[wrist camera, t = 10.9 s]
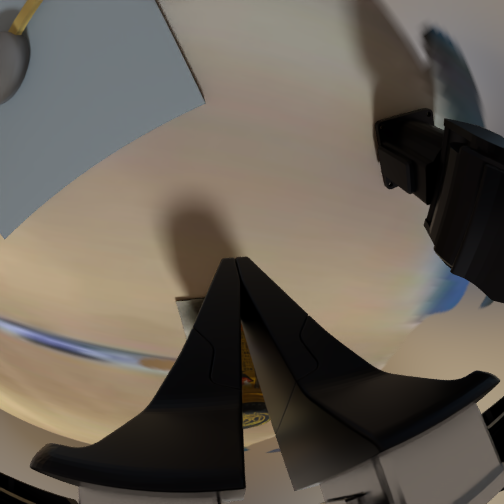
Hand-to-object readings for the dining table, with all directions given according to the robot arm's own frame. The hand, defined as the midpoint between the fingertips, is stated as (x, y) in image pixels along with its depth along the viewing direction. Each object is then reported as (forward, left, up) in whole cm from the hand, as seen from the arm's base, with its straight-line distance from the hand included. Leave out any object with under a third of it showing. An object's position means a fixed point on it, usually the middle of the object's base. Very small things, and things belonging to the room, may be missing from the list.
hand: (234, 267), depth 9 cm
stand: (+10, -14, -12) cm, 21 cm away
